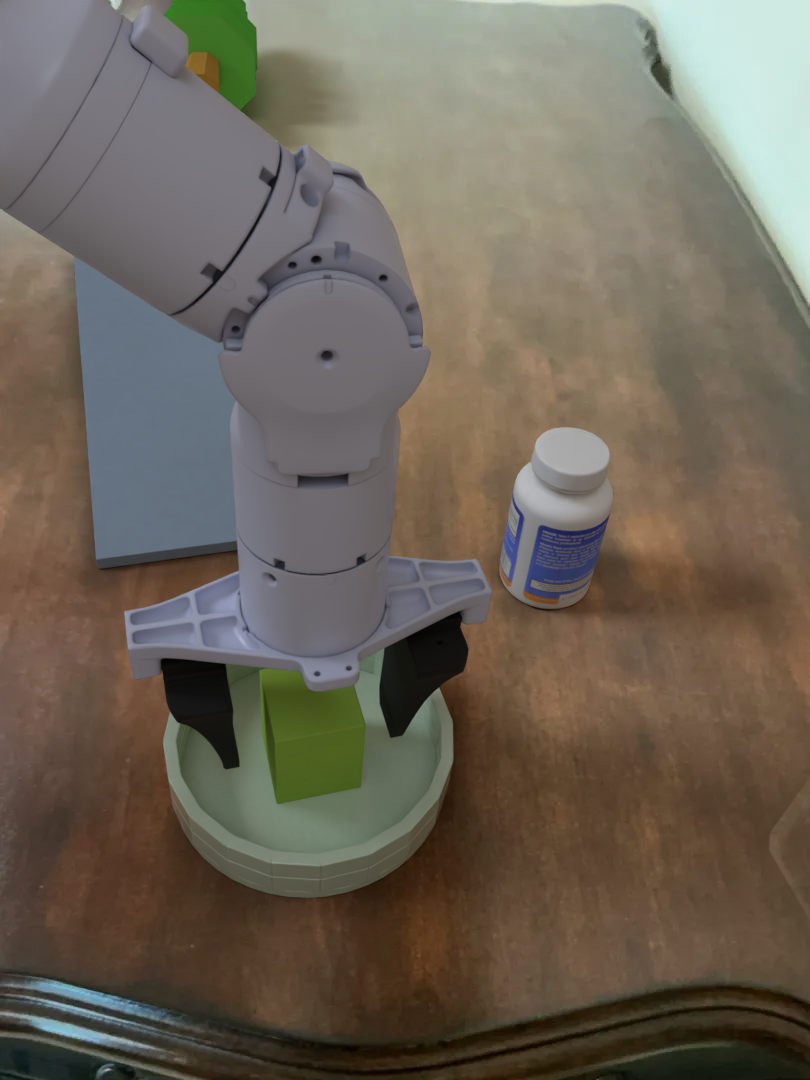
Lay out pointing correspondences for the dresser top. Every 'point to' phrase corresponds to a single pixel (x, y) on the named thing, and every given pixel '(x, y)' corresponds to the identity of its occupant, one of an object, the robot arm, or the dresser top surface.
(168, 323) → the mat
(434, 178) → the dresser top surface
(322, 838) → the basin
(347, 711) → the cube
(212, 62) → the decorative tree
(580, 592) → the pill bottle
